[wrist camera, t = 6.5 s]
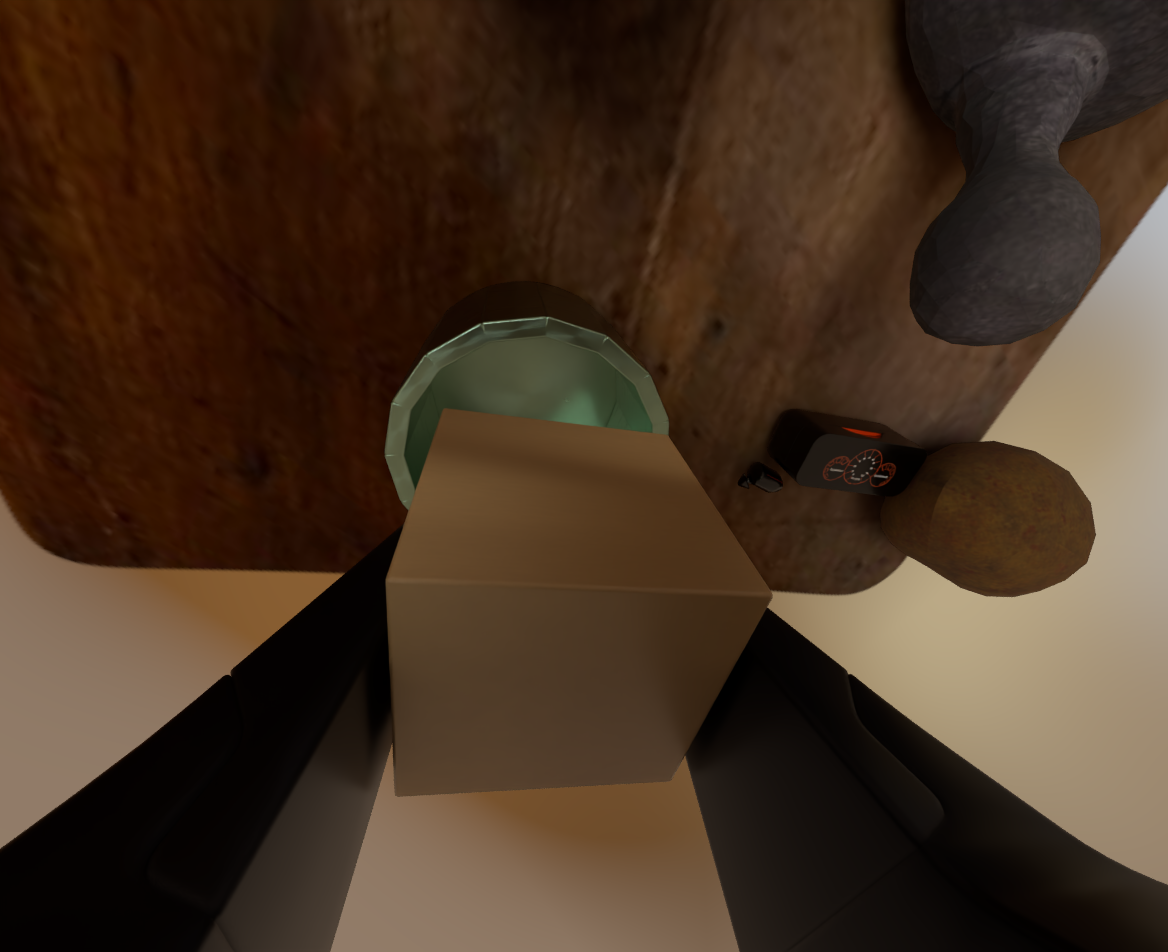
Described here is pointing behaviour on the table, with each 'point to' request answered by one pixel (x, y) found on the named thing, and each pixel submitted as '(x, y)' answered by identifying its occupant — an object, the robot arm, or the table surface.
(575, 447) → the block
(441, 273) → the table surface
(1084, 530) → the potato
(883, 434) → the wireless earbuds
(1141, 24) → the teapot
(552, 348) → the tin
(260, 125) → the table surface
